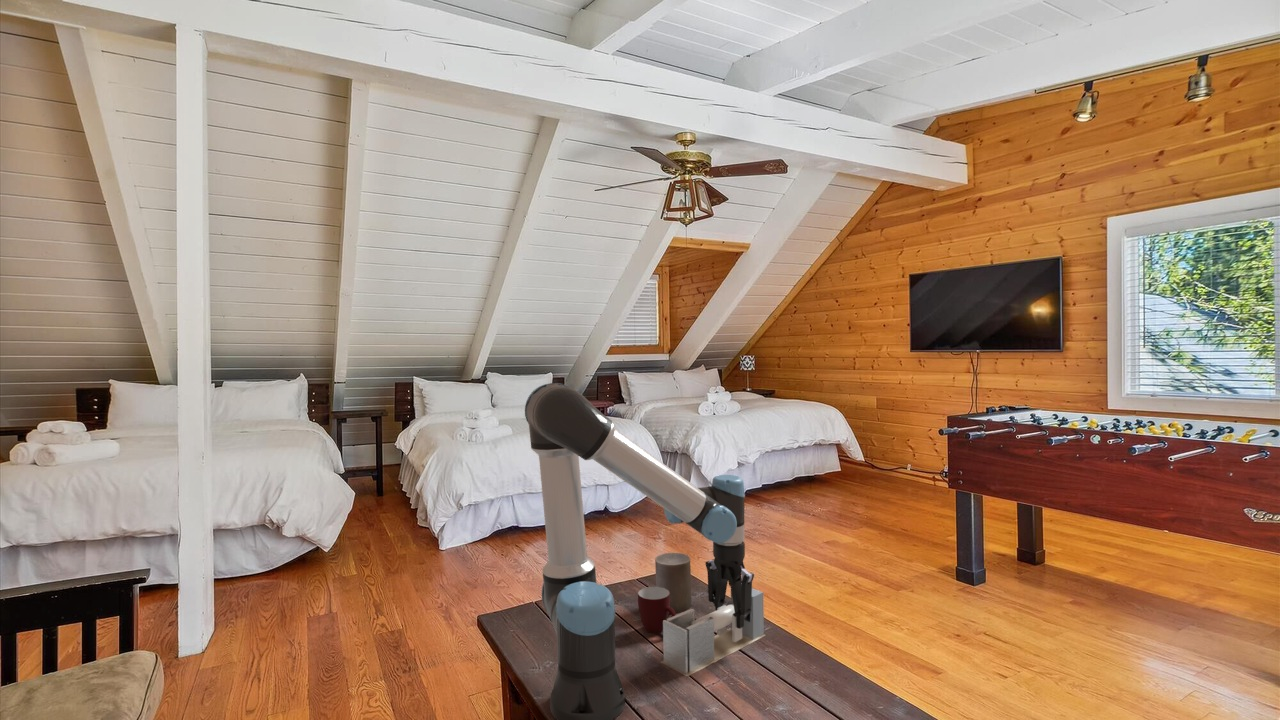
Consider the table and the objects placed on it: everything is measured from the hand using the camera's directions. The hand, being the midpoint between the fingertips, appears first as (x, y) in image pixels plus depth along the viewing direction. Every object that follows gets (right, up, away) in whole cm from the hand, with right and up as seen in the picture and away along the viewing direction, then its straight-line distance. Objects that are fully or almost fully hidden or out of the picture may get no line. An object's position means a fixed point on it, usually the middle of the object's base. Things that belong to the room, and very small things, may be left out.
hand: (729, 636), depth 158 cm
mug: (-17, -2, +7) cm, 18 cm away
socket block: (+5, -1, +4) cm, 7 cm away
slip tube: (-2, +3, -2) cm, 4 cm away
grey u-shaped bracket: (-10, -2, -9) cm, 13 cm away
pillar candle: (-12, -1, +21) cm, 25 cm away
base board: (-4, -2, -3) cm, 6 cm away
